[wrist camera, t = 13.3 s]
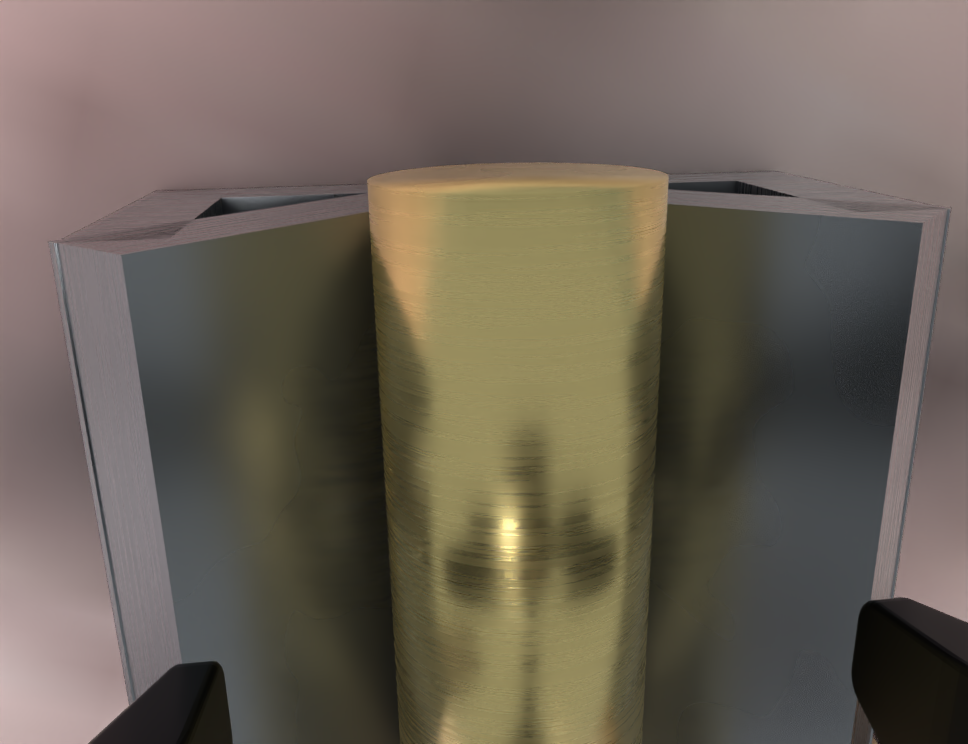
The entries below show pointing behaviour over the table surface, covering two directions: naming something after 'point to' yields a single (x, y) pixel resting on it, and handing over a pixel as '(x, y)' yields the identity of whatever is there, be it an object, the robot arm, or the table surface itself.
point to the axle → (519, 444)
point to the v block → (360, 466)
